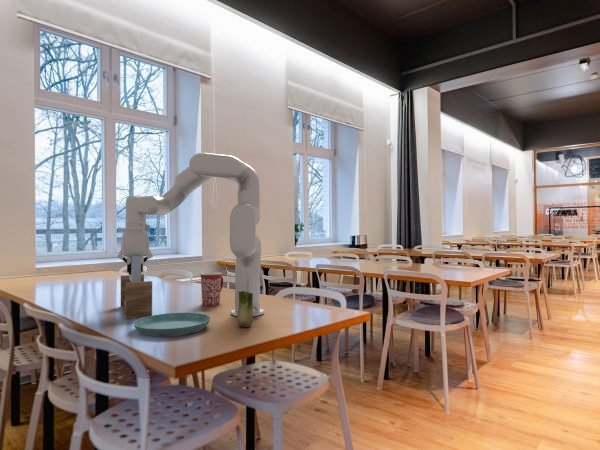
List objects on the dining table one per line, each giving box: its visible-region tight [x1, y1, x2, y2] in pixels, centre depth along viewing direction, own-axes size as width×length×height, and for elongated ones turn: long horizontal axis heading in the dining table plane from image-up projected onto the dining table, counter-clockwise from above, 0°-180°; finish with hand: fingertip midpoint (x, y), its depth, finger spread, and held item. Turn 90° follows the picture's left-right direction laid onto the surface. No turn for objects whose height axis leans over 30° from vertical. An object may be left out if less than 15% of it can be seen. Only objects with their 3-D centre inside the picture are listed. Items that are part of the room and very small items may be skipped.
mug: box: [200, 271, 224, 307], centre depth 179 cm, size 13×9×14 cm
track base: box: [119, 273, 153, 320], centre depth 162 cm, size 26×9×13 cm, turn 28°
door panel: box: [128, 256, 142, 282], centre depth 163 cm, size 12×3×10 cm, turn 28°
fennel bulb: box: [236, 291, 254, 328], centre depth 138 cm, size 6×5×12 cm
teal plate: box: [132, 312, 211, 338], centre depth 135 cm, size 24×24×3 cm
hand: (134, 273), depth 163 cm, fingers closed on door panel, 3 cm apart
